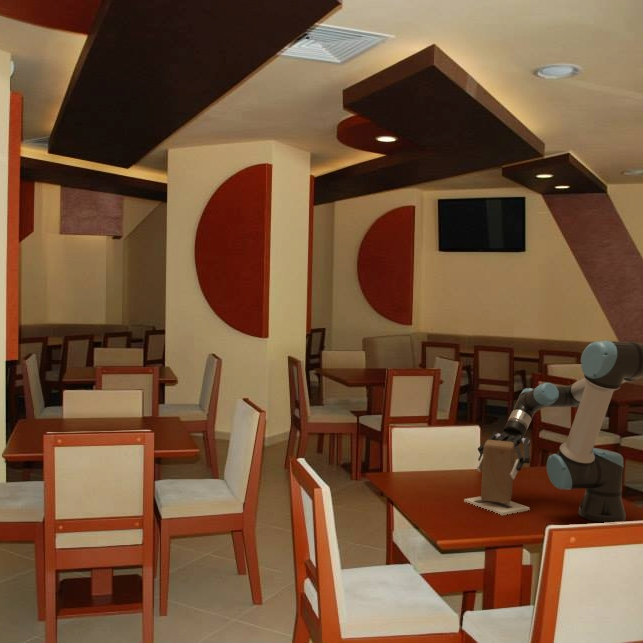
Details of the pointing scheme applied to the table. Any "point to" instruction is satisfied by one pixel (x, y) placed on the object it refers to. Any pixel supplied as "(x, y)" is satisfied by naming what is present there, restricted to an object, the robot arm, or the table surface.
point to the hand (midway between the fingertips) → (495, 473)
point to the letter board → (497, 506)
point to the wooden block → (497, 471)
